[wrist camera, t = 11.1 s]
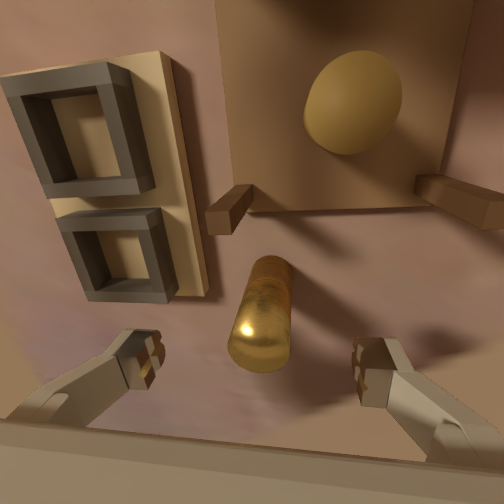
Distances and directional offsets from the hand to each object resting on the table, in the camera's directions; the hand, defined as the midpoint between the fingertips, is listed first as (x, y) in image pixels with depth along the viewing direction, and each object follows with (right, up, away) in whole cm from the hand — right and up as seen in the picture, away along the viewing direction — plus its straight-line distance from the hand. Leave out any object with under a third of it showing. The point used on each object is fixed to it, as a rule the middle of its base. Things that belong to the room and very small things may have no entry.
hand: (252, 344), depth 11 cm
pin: (+1, +3, +4) cm, 5 cm away
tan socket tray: (-7, +7, +4) cm, 11 cm away
